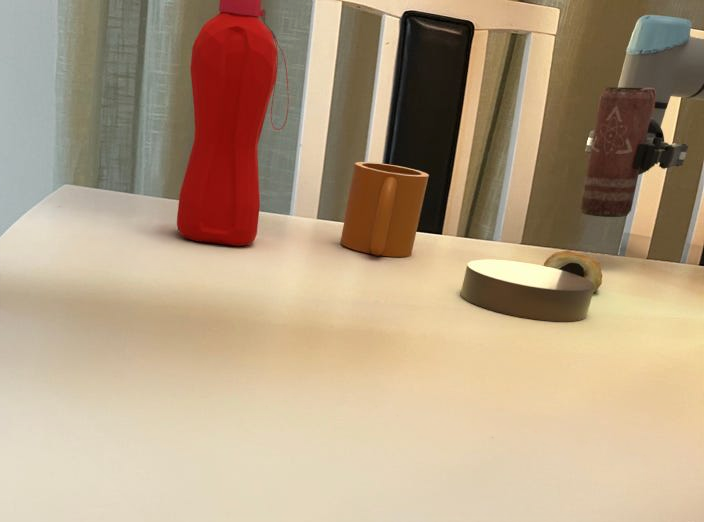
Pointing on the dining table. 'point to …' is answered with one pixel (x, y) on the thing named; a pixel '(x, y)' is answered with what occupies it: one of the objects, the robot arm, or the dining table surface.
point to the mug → (383, 209)
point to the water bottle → (228, 124)
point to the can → (616, 150)
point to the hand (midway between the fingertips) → (644, 157)
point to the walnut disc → (527, 290)
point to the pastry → (576, 265)
